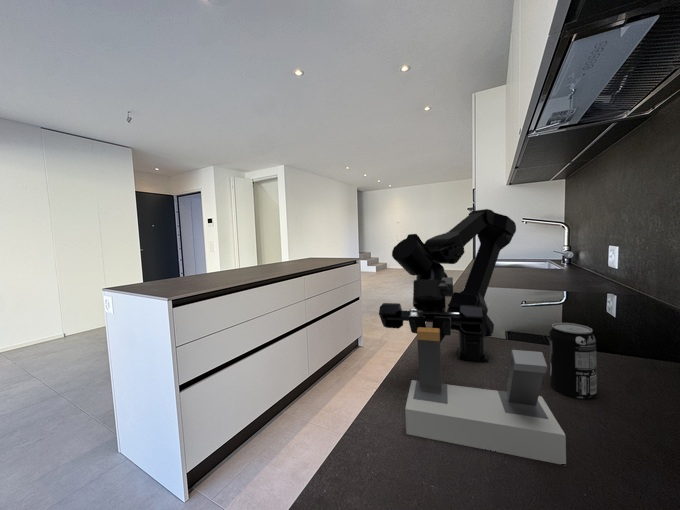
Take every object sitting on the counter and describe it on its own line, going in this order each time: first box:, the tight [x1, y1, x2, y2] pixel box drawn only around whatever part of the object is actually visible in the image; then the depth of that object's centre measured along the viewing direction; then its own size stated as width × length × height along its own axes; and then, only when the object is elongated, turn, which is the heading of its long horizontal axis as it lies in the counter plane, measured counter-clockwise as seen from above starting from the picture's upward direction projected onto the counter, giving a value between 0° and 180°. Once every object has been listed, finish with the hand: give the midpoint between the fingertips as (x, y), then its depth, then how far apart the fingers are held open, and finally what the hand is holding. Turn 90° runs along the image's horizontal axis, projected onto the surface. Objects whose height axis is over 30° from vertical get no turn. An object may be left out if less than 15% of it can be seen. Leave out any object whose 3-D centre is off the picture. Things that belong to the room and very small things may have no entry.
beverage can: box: [548, 322, 598, 399], centre depth 51 cm, size 7×7×12 cm
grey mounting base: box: [404, 379, 567, 465], centre depth 42 cm, size 9×20×4 cm, turn 69°
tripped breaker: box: [416, 327, 443, 390], centre depth 46 cm, size 2×4×10 cm, turn 69°
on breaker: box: [506, 349, 548, 406], centre depth 39 cm, size 2×4×10 cm, turn 70°
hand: (429, 361), depth 47 cm, fingers closed, pressing on tripped breaker
